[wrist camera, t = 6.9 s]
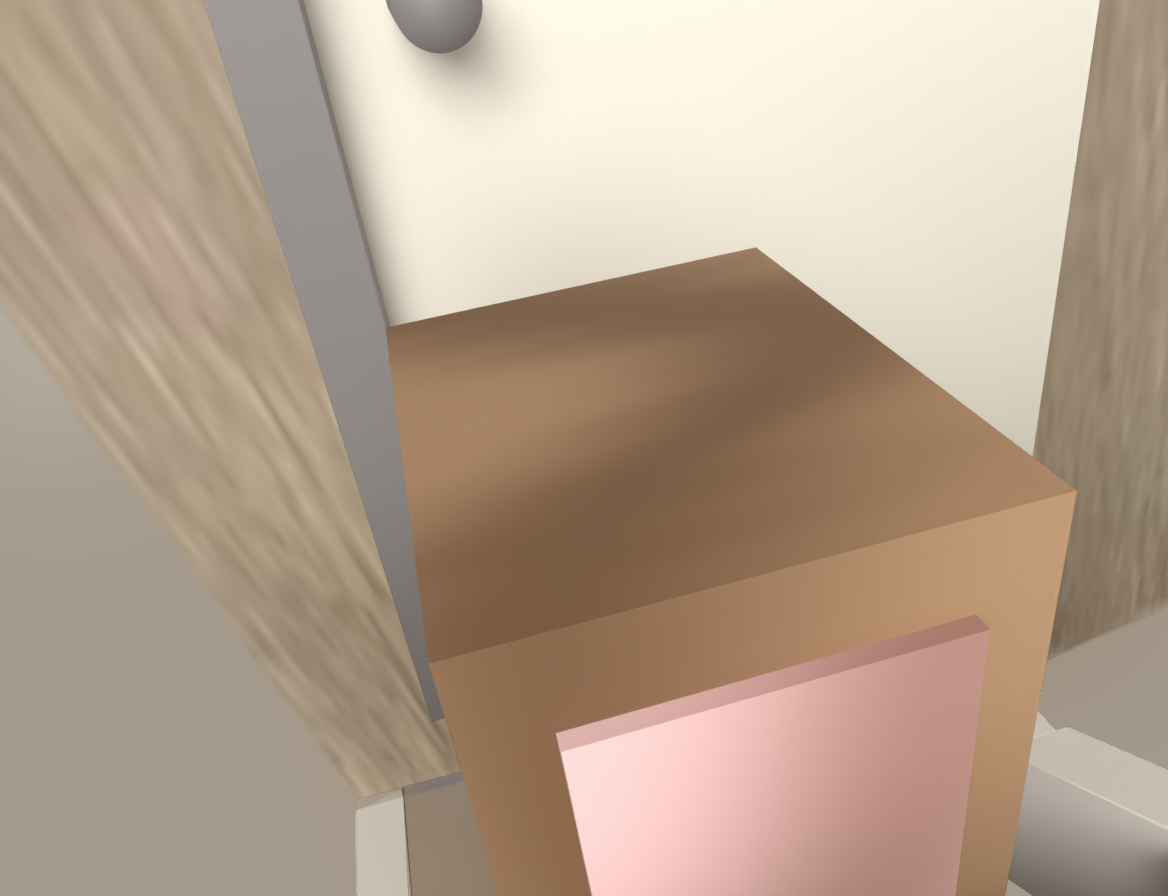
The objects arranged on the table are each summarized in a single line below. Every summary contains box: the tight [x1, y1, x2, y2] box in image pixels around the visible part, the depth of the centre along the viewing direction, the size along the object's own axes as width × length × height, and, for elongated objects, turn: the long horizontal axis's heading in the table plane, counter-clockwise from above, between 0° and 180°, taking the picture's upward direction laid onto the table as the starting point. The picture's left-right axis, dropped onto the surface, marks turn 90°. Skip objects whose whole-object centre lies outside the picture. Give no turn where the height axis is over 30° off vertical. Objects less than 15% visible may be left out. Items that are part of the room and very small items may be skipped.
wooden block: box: [386, 247, 1077, 896], centre depth 10 cm, size 4×10×5 cm, turn 8°
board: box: [203, 0, 1100, 721], centre depth 21 cm, size 20×26×4 cm
